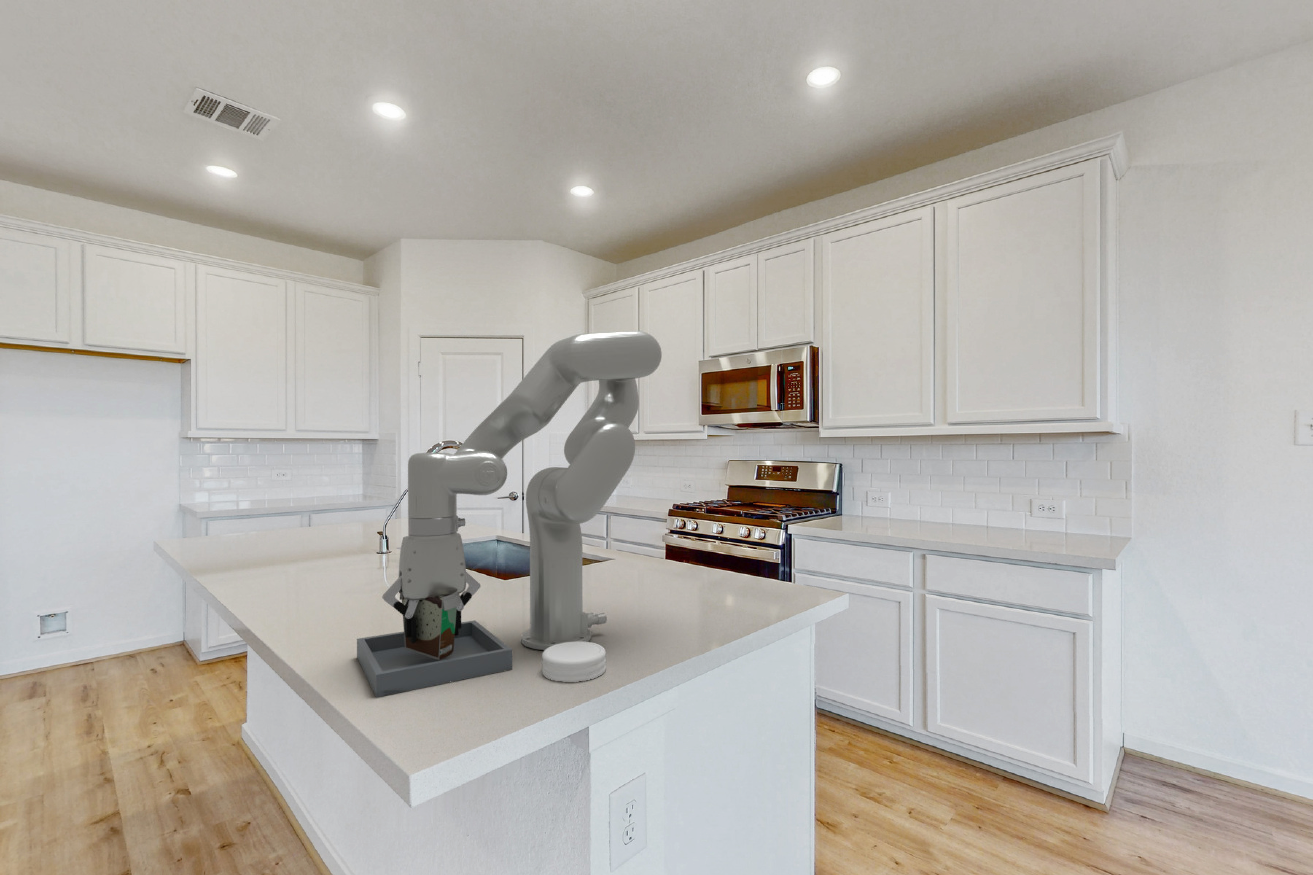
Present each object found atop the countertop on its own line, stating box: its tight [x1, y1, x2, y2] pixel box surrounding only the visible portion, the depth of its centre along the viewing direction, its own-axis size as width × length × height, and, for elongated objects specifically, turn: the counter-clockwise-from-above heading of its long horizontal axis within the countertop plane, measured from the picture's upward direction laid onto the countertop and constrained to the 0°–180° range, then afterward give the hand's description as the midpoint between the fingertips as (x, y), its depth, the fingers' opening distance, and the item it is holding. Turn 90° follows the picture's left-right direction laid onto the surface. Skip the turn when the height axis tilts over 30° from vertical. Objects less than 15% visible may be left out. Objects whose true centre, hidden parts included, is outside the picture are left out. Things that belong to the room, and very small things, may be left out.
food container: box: [399, 590, 461, 660], centre depth 103 cm, size 12×6×10 cm, turn 54°
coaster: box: [541, 641, 607, 683], centre depth 99 cm, size 10×10×4 cm
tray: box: [356, 620, 513, 698], centre depth 103 cm, size 20×20×3 cm
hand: (433, 636), depth 103 cm, fingers closed on food container, 6 cm apart
